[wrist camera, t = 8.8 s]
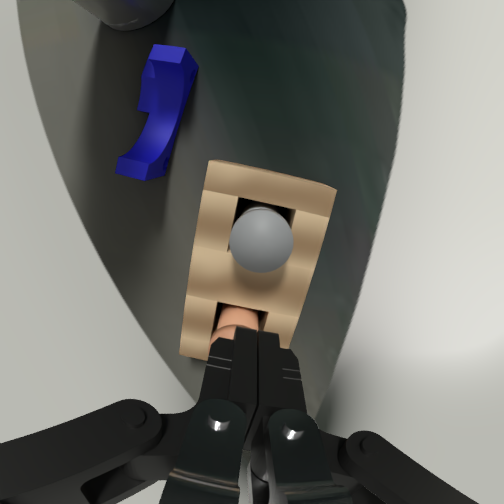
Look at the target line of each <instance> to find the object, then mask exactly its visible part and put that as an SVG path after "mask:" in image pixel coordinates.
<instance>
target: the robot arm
mask: <svg viewBox="0 0 504 504" xmlns="http://www.w3.org/2000/svg"><path fill="white" fill-rule="evenodd" d="M72 1H74V2H75V3H77V4H78V5H80V6H81V7H83V8H84V9H86V10H87V11H89V12H90V13H91V14H93V15H94V16H96V17H97V18H98V19H100V20H101V21H103V22H104V23H105V24H107V25H108V26H110V27H111V28H113V29H116V30H120V31H129V30H135V29H138V28H141V27H144V26H146V25H148V24H150V23H152V22H153V21H155V20H157V19H158V18H159V17H160V16H162V15H163V14H164V13H165V12H166V11H167V10H168V8H169V7H170V6H171V4H172V3H173V1H174V0H72ZM299 371H300V368H299V363H298V359H297V357H296V356H295V355H294V353H293V352H292V351H291V349H285V348H280V340H279V334H278V333H273V332H267V331H261V330H258V331H257V330H255V329H250V328H245V327H239V326H236V328H235V333H234V337H233V340H232V339H227V338H222V337H218V338H217V339H216V340H215V341H214V342H213V343H212V344H211V347H210V351H209V356H208V360H207V365H206V369H205V374H204V378H203V383H202V388H201V392H200V397H199V400H198V402H197V403H196V405H195V406H194V407H192V408H191V409H190V410H188V411H185V412H182V413H176V414H159V413H158V411H157V410H156V409H155V408H154V407H153V406H151V405H150V404H148V403H146V402H144V401H141V400H136V399H125V400H121V401H118V402H116V403H113V404H111V405H108V406H106V407H104V408H101V409H98V410H96V411H93V412H91V413H88V414H86V415H83V416H81V417H78V418H76V419H73V420H70V421H68V422H65V423H62V424H59V425H57V426H53V427H51V428H48V429H45V430H42V431H39V432H36V433H33V434H30V435H27V436H24V437H20V438H17V439H14V440H11V441H7V442H4V443H0V504H116V503H118V502H120V501H122V500H124V499H126V498H128V497H130V496H132V495H134V494H136V493H138V492H139V491H141V490H143V489H145V488H147V487H148V486H150V485H152V484H154V483H155V482H157V481H158V480H167V481H166V484H165V487H164V490H163V493H162V496H161V499H160V501H159V504H238V503H239V495H240V488H239V486H238V479H239V472H240V466H241V459H242V452H243V450H249V451H251V461H250V463H249V465H248V468H247V482H248V495H249V496H248V497H249V504H478V503H477V502H475V501H474V500H472V499H470V498H469V497H467V496H466V495H464V494H462V493H461V492H459V491H458V490H456V489H455V488H453V487H452V486H450V485H449V484H447V483H446V482H444V481H443V480H441V479H440V478H438V477H437V476H435V475H434V474H432V473H431V472H430V471H428V470H427V469H425V468H424V467H422V466H421V465H420V464H418V463H417V462H415V461H414V460H412V459H411V458H410V457H408V456H407V455H406V454H404V453H403V452H402V451H400V450H399V449H397V448H396V447H395V446H393V445H392V444H391V443H389V442H388V441H387V440H385V439H384V438H383V437H381V436H380V435H378V434H376V433H374V432H371V431H358V432H355V433H353V434H352V435H351V436H350V437H349V438H348V439H346V438H342V437H338V436H335V435H332V434H328V433H326V432H324V431H321V430H320V429H319V428H318V425H317V423H316V422H315V420H314V419H313V418H312V417H311V416H310V415H308V414H307V410H306V404H305V398H304V392H303V386H302V381H301V374H300V372H299ZM369 490H370V491H369ZM378 497H379V498H378ZM382 500H383V501H382Z"/></svg>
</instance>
